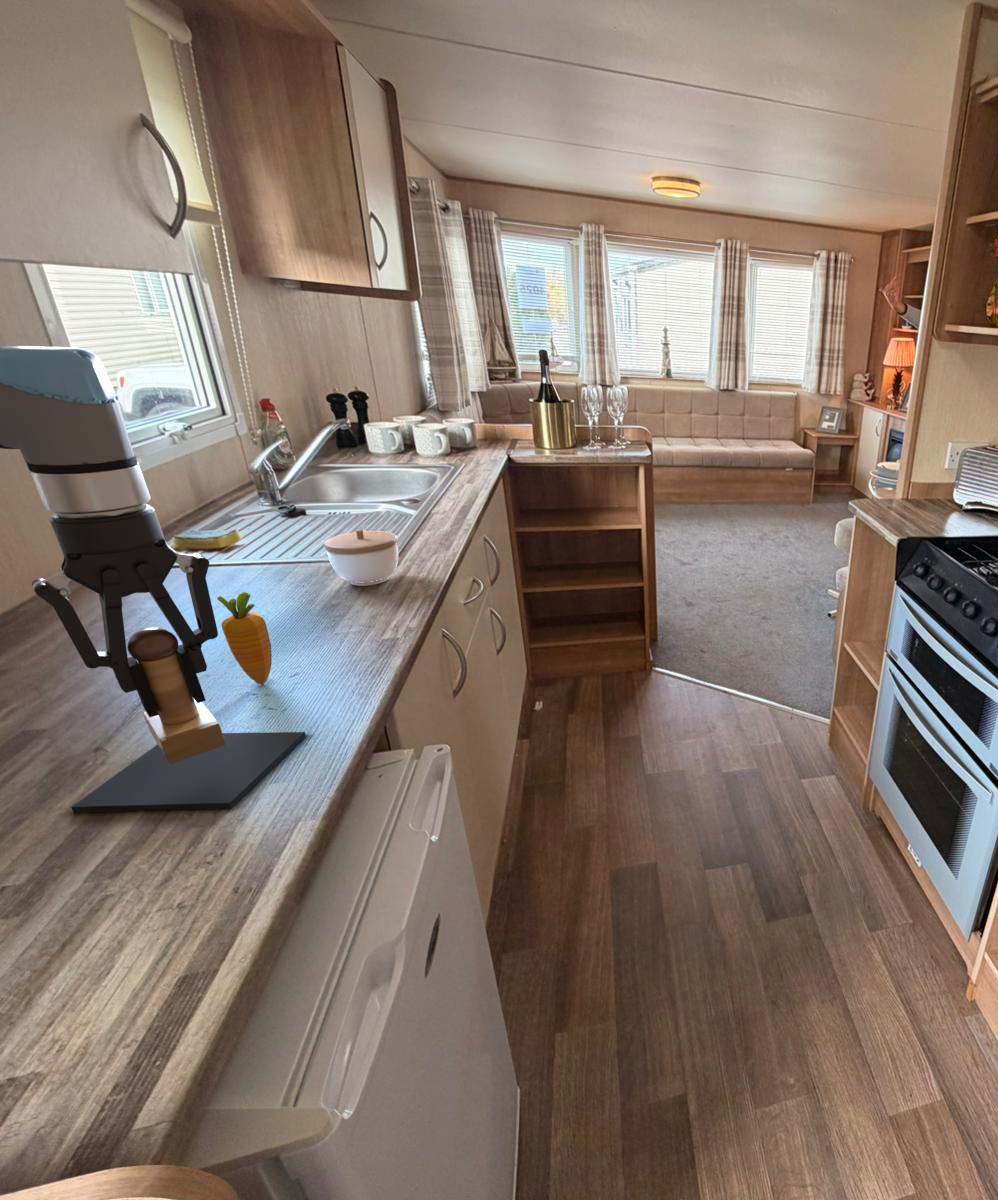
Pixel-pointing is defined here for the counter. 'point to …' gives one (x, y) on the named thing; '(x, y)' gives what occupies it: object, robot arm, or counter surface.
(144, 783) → the mat
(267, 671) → the carrot
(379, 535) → the lidded bowl
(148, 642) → the stamp
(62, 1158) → the counter surface
